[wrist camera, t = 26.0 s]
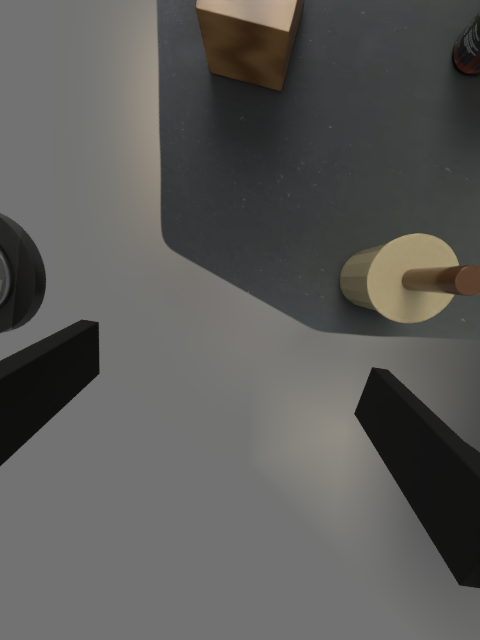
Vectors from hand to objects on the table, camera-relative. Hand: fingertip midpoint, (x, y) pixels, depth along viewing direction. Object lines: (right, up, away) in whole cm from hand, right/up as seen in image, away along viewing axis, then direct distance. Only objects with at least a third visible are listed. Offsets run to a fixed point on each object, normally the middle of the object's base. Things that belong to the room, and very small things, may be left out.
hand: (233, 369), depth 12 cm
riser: (+3, +43, +24) cm, 49 cm away
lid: (+21, +7, +18) cm, 28 cm away
